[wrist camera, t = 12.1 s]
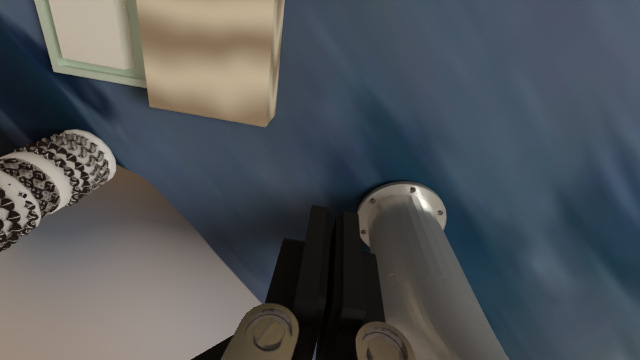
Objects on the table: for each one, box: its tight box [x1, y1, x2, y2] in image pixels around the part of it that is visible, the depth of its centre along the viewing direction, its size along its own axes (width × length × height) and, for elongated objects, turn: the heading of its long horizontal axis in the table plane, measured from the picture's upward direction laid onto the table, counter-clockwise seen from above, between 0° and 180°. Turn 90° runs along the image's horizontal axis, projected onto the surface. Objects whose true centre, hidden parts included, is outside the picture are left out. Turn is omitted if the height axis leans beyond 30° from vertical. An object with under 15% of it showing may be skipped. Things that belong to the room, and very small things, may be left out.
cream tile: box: [49, 0, 136, 70], centre depth 31 cm, size 8×7×2 cm
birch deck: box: [136, 0, 285, 127], centre depth 31 cm, size 14×13×5 cm
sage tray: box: [34, 0, 147, 88], centre depth 32 cm, size 12×13×2 cm
